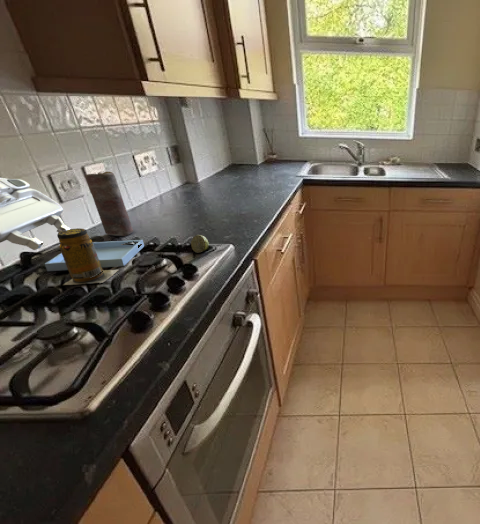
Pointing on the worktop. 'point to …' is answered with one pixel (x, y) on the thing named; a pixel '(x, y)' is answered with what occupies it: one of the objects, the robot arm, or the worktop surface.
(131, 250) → the blue tray
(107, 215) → the candle
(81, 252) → the condiment
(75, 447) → the worktop surface
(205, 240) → the lime
